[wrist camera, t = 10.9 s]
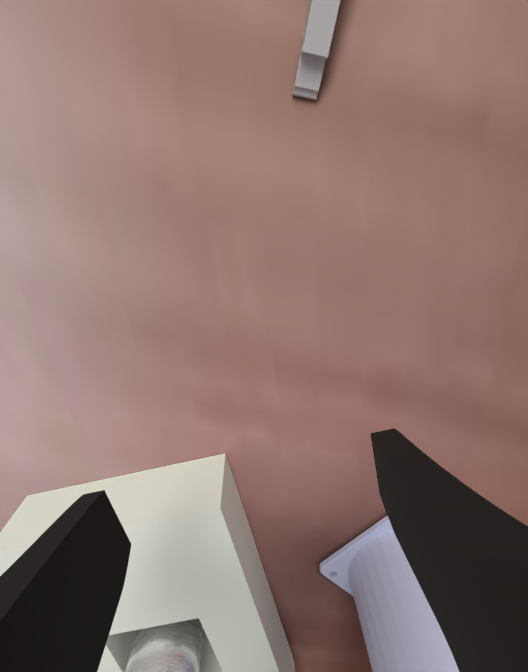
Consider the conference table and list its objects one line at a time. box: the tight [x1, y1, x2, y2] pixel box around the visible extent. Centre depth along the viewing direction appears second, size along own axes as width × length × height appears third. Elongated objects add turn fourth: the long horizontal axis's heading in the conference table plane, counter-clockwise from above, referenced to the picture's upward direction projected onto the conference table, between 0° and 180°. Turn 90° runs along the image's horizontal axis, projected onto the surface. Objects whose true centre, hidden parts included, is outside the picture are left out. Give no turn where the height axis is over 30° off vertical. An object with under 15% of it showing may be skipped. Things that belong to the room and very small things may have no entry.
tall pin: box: [125, 618, 203, 672], centre depth 22 cm, size 4×4×8 cm
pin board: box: [0, 453, 295, 672], centre depth 24 cm, size 20×12×4 cm, turn 13°
